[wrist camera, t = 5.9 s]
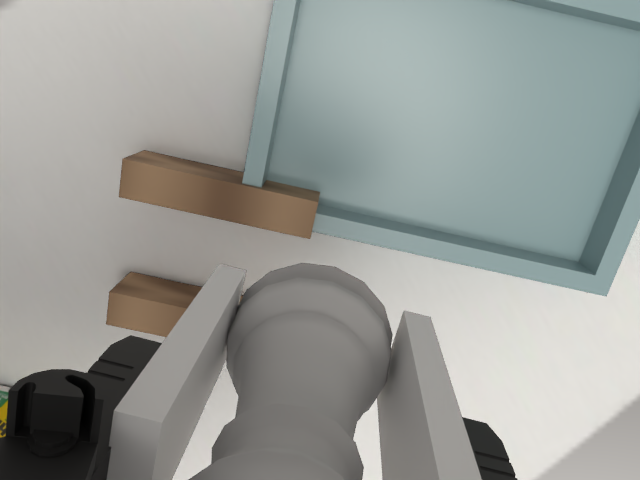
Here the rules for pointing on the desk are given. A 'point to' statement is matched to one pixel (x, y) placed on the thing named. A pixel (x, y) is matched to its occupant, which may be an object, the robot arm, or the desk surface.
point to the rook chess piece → (301, 376)
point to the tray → (460, 129)
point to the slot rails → (204, 199)
